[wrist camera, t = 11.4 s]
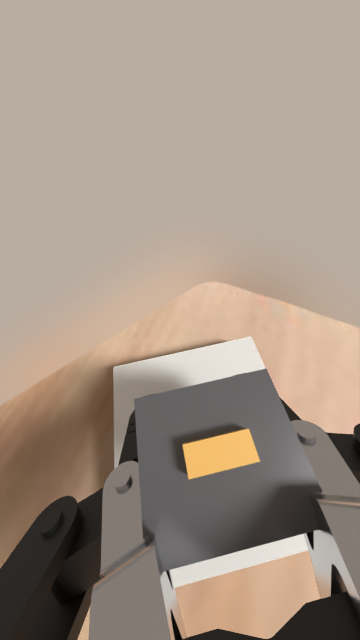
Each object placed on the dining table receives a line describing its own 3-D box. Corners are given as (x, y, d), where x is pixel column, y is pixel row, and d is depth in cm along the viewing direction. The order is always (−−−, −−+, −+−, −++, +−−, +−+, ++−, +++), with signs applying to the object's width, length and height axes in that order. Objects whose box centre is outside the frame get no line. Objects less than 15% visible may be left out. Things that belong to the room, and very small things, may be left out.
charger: (178, 474, 12) (140, 591, 3) (169, 413, 13) (130, 397, 5) (243, 458, 12) (351, 534, 4) (225, 400, 14) (270, 364, 5)
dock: (130, 570, 12) (115, 604, 9) (122, 373, 18) (113, 366, 16) (317, 519, 12) (344, 540, 10) (244, 346, 19) (251, 336, 17)
